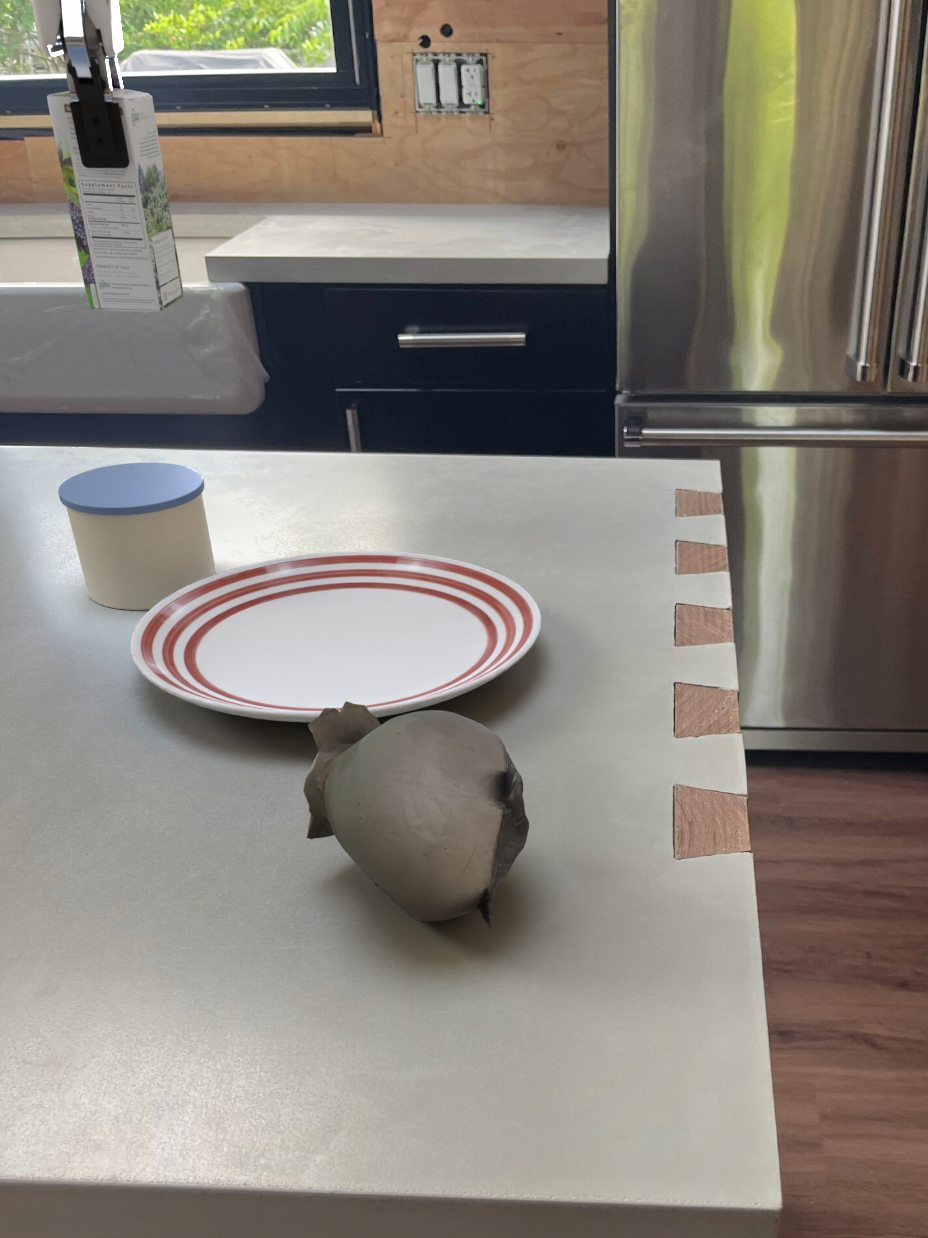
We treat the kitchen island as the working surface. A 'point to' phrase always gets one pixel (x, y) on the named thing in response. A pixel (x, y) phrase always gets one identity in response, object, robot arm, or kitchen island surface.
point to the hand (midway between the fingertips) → (110, 159)
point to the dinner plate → (335, 634)
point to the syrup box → (121, 212)
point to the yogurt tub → (139, 531)
